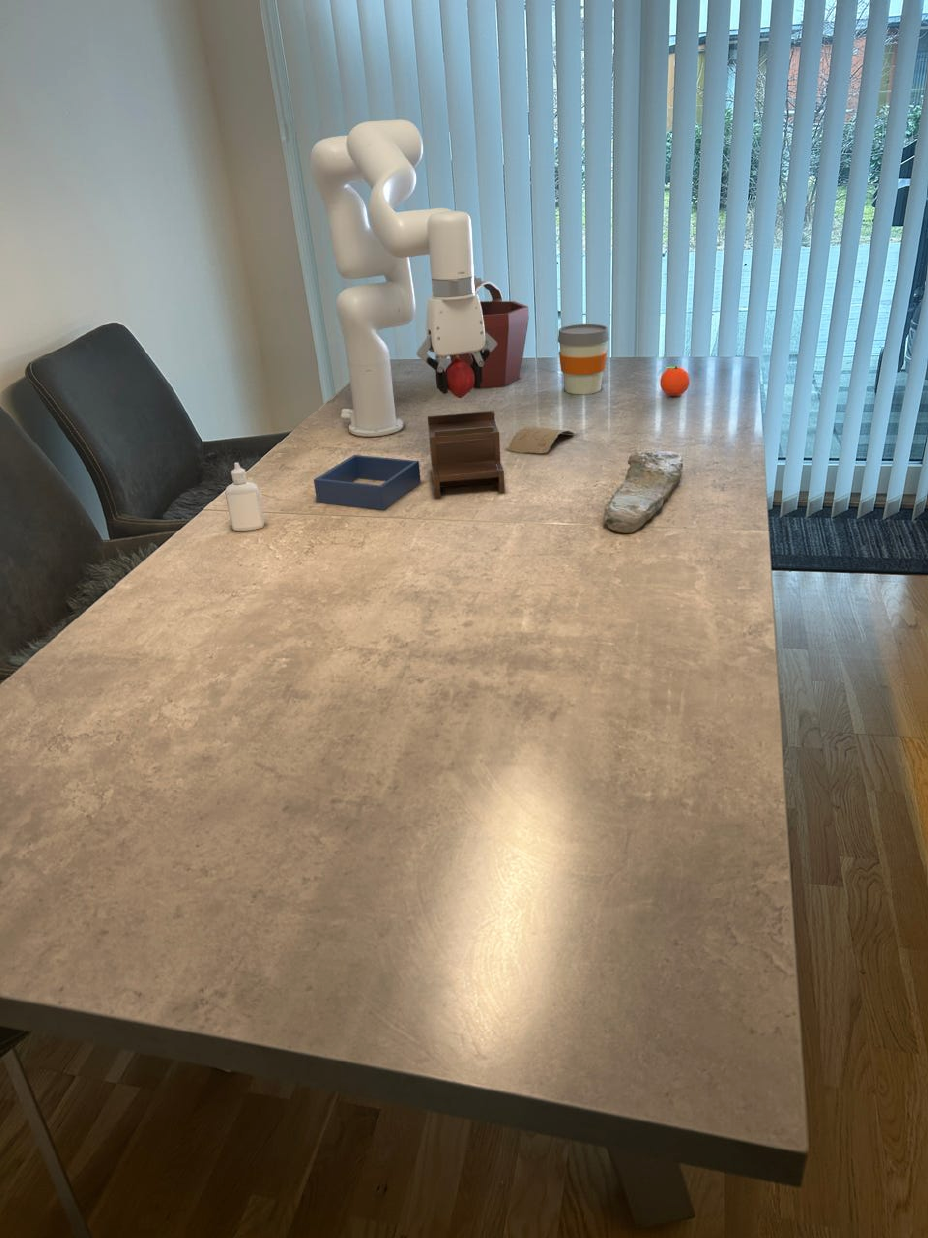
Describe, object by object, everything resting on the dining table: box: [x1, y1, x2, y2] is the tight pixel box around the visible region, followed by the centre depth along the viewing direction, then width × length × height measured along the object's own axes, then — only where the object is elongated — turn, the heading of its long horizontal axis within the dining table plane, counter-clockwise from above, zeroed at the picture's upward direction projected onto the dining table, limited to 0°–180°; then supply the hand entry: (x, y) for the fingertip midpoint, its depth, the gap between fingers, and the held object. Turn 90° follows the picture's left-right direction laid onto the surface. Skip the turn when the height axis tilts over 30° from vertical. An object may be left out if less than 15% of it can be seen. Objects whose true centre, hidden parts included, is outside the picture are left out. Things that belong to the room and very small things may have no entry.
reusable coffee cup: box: [557, 323, 610, 395], centre depth 222 cm, size 13×13×15 cm
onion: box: [444, 355, 475, 399], centre depth 165 cm, size 6×6×8 cm
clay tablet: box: [507, 425, 576, 454], centre depth 190 cm, size 14×10×3 cm
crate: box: [313, 454, 422, 511], centre depth 169 cm, size 15×15×4 cm
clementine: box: [657, 365, 691, 397], centre depth 214 cm, size 8×7×7 cm
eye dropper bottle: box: [224, 462, 265, 532], centre depth 156 cm, size 4×6×12 cm
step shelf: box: [427, 410, 506, 500], centre depth 169 cm, size 15×13×12 cm
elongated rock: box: [602, 450, 684, 534], centre depth 159 cm, size 35×5×10 cm
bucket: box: [449, 280, 530, 389], centre depth 235 cm, size 24×22×25 cm
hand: (459, 388), depth 166 cm, fingers closed on onion, 5 cm apart
